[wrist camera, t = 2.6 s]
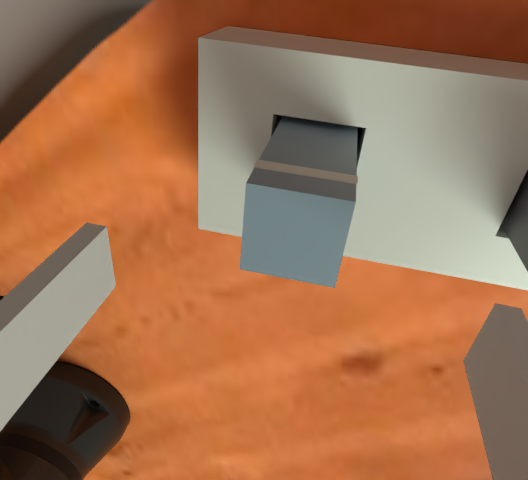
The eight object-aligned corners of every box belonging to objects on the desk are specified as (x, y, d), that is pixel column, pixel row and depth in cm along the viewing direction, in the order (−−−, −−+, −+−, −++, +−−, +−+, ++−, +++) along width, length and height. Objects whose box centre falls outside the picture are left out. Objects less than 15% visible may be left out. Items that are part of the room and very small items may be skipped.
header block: (222, 190, 33) (198, 228, 28) (228, 25, 26) (198, 37, 22) (590, 255, 30) (635, 310, 25) (703, 86, 23) (795, 115, 18)
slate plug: (285, 157, 30) (238, 269, 19) (292, 96, 28) (244, 181, 16) (345, 167, 30) (335, 288, 18) (358, 105, 27) (357, 200, 16)
